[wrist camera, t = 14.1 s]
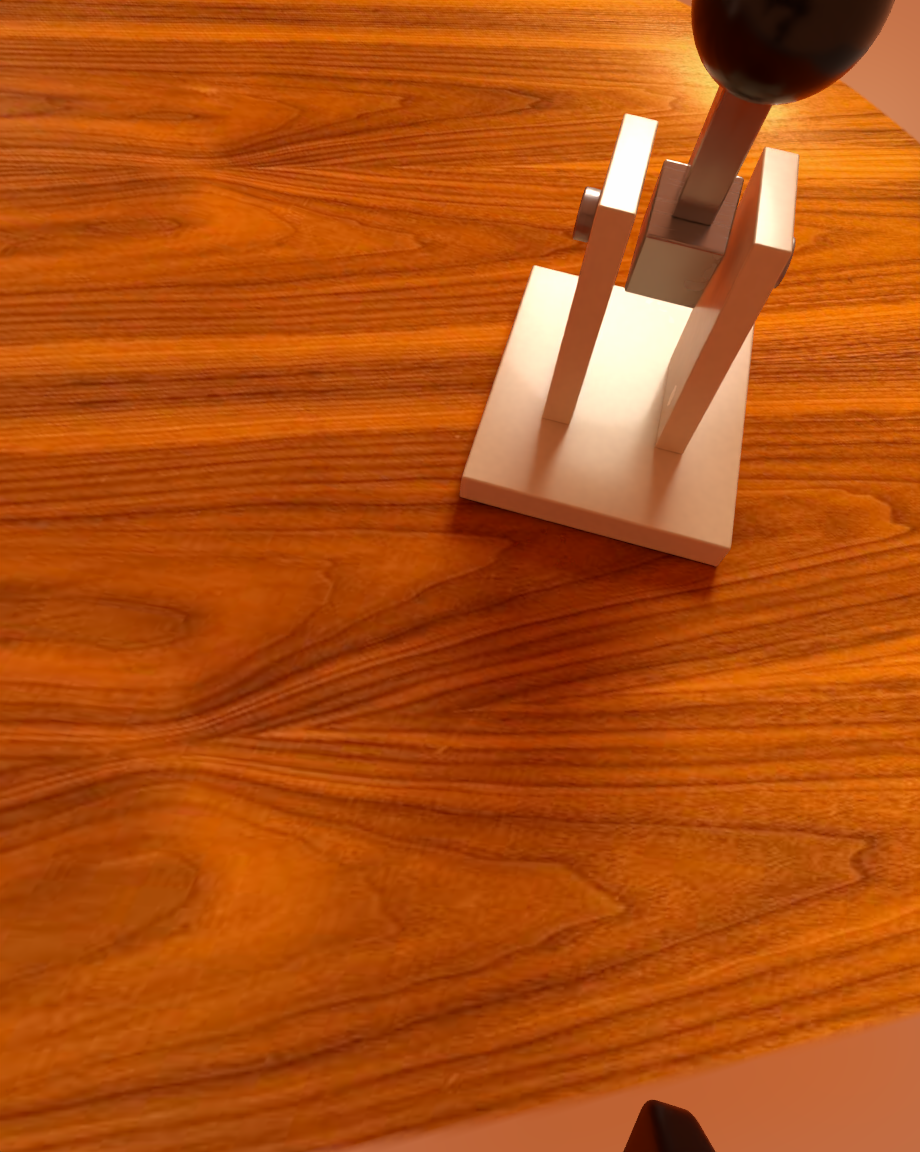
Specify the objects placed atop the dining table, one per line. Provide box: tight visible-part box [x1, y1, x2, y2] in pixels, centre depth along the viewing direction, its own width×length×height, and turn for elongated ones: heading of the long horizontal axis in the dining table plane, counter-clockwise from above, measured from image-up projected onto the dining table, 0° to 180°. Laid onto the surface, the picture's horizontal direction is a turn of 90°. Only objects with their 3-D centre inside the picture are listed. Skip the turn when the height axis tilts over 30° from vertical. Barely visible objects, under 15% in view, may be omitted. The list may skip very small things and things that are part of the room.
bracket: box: [459, 114, 799, 566], centre depth 24 cm, size 11×9×9 cm
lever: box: [625, 0, 895, 308], centre depth 18 cm, size 11×4×4 cm
